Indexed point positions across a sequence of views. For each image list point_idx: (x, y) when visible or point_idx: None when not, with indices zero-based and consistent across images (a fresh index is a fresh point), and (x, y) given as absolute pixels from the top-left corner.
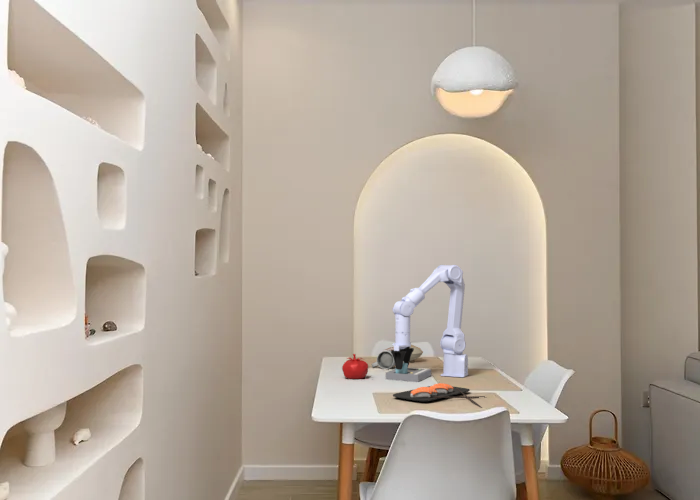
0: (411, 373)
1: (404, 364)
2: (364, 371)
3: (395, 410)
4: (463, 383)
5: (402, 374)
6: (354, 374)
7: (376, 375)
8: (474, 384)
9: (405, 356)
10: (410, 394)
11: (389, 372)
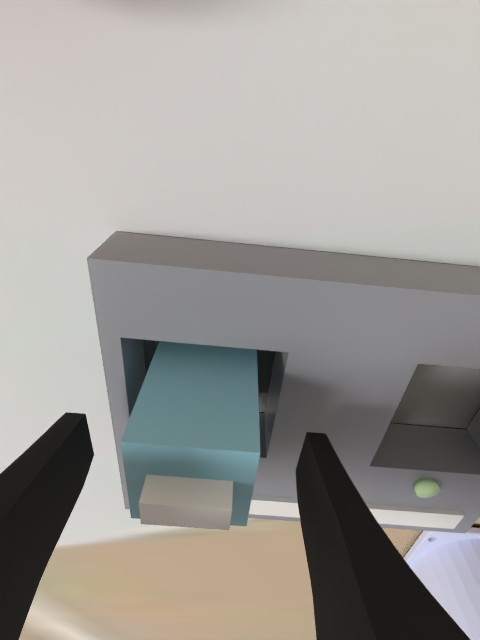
0: None
1: (131, 513)
2: None
3: None
4: (207, 592)
5: (113, 417)
6: None
7: (392, 8)
8: (201, 612)
9: (332, 597)
10: None
11: (132, 297)
